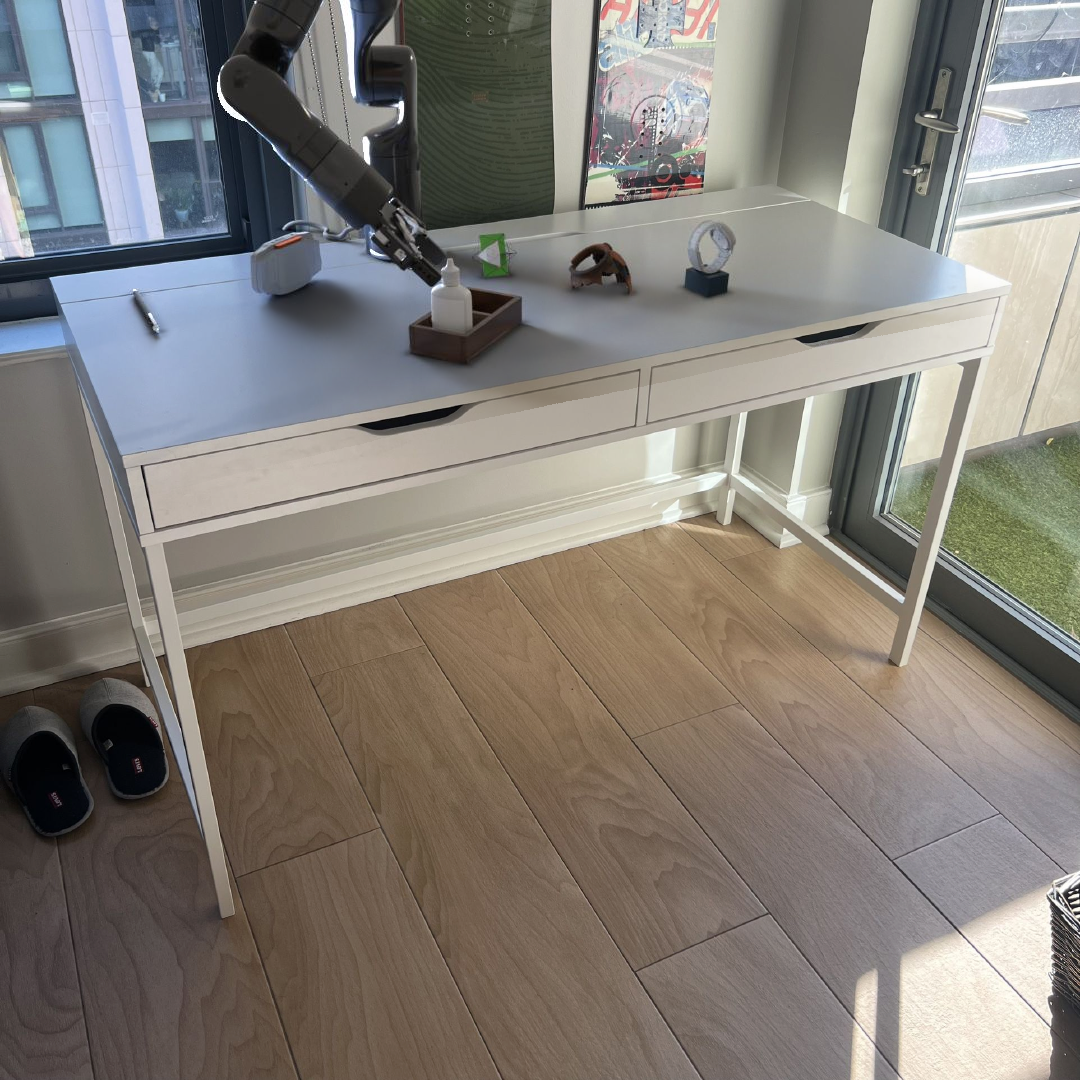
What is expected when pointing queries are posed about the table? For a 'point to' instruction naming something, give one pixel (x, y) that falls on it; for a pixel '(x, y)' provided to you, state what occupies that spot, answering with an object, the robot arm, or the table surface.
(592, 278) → the broken clay pot
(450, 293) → the eye dropper bottle
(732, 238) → the watch
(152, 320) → the pen
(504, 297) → the brown wooden divided tray
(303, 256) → the white plastic case
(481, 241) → the geometric puzzle
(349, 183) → the robot arm
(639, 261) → the table surface
